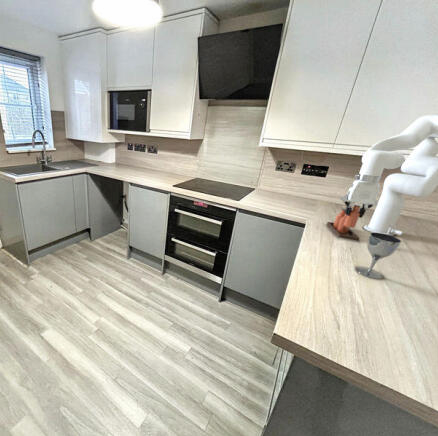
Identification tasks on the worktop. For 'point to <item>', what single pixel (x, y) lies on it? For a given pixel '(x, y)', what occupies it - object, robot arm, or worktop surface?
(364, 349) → the worktop surface
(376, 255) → the wine glass
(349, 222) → the loose bottle
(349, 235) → the tray
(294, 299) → the worktop surface
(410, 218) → the worktop surface
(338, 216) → the tray bottle
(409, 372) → the worktop surface
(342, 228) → the tray bottle
